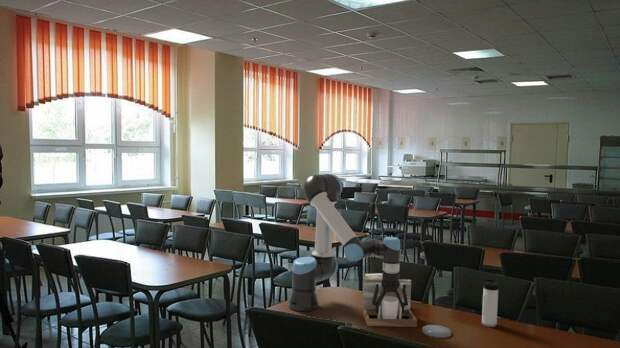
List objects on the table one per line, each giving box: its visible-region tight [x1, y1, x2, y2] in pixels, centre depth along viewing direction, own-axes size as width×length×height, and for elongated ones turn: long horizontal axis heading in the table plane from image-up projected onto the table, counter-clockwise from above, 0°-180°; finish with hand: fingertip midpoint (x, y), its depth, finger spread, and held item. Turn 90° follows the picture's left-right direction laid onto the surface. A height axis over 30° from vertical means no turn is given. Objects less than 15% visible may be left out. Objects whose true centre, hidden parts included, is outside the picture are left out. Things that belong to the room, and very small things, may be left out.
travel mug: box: [481, 278, 499, 328], centre depth 211 cm, size 6×7×20 cm
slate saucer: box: [421, 324, 452, 339], centre depth 201 cm, size 12×12×1 cm
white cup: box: [381, 296, 399, 319], centre depth 213 cm, size 8×8×10 cm
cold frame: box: [362, 278, 418, 328], centre depth 213 cm, size 15×22×17 cm
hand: (389, 320), depth 213 cm, fingers open, 9 cm apart
